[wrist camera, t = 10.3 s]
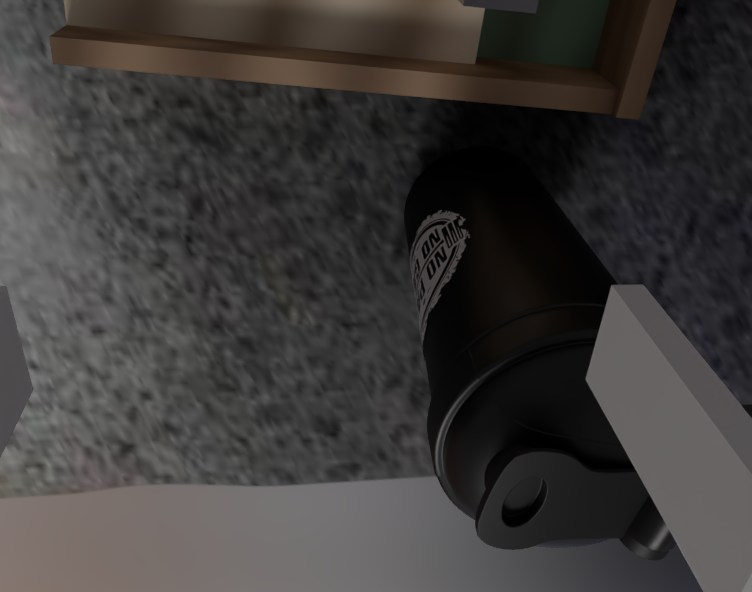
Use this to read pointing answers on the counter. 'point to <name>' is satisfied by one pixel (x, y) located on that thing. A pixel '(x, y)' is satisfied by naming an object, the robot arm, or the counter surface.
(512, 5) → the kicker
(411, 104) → the counter surface
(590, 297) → the water bottle
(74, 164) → the counter surface
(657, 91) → the counter surface
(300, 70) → the lane
